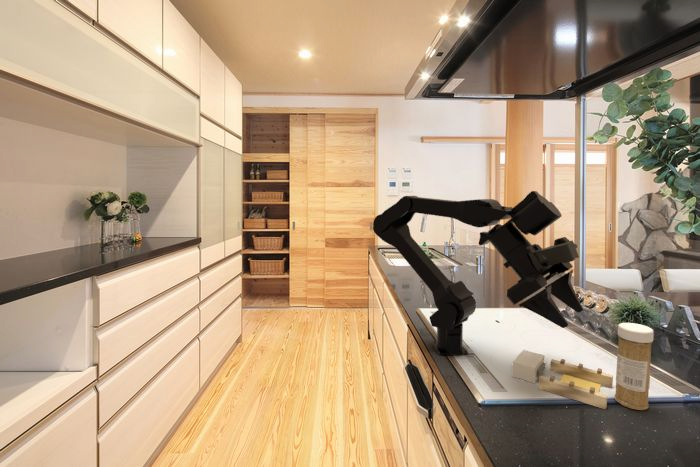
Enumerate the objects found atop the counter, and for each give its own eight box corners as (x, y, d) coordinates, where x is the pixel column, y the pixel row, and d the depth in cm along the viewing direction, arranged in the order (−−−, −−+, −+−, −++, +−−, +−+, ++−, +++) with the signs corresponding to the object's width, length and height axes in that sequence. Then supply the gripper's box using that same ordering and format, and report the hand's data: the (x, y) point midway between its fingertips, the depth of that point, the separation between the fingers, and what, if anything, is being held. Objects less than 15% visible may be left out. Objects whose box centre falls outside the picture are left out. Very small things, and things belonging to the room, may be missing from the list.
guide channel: (538, 388, 64) (539, 374, 64) (551, 368, 71) (552, 356, 71) (605, 409, 57) (606, 394, 57) (612, 385, 64) (613, 372, 64)
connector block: (512, 376, 68) (512, 361, 68) (523, 363, 73) (523, 349, 73) (537, 384, 65) (537, 368, 65) (546, 370, 70) (547, 356, 70)
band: (555, 389, 63) (555, 388, 63) (563, 374, 68) (563, 374, 68) (595, 402, 59) (595, 401, 59) (601, 385, 64) (601, 384, 64)
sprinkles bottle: (652, 405, 58) (658, 327, 57) (642, 414, 56) (648, 333, 54) (619, 392, 62) (624, 319, 61) (609, 401, 59) (613, 325, 58)
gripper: (530, 231, 57) (603, 313, 52) (565, 219, 70) (627, 283, 64) (482, 267, 65) (541, 343, 59) (522, 250, 77) (573, 311, 71)
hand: (573, 318), depth 63 cm, fingers open, 9 cm apart
